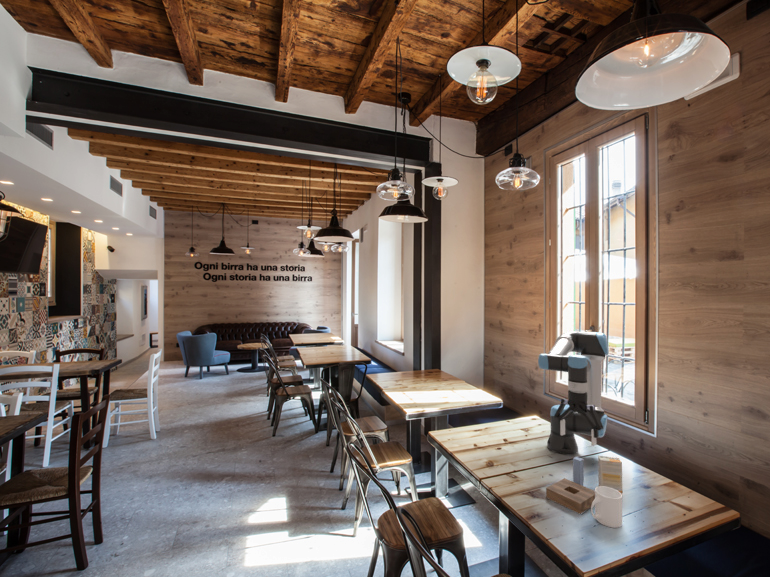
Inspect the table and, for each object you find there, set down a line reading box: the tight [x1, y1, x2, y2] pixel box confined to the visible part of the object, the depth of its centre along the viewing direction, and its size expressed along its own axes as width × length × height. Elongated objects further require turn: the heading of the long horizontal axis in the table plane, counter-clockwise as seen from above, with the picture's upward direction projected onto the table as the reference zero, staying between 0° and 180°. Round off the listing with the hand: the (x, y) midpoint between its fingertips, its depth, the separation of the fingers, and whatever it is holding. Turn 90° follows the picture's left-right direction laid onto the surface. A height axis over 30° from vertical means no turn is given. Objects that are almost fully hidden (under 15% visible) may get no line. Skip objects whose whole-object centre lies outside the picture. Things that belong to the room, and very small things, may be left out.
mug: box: [590, 485, 623, 529], centre depth 135 cm, size 9×12×11 cm
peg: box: [572, 456, 585, 487], centre depth 160 cm, size 3×3×12 cm
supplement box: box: [597, 455, 623, 494], centre depth 158 cm, size 8×5×13 cm, turn 71°
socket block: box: [545, 477, 595, 515], centre depth 150 cm, size 14×14×4 cm
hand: (577, 439), depth 161 cm, fingers open, 13 cm apart
